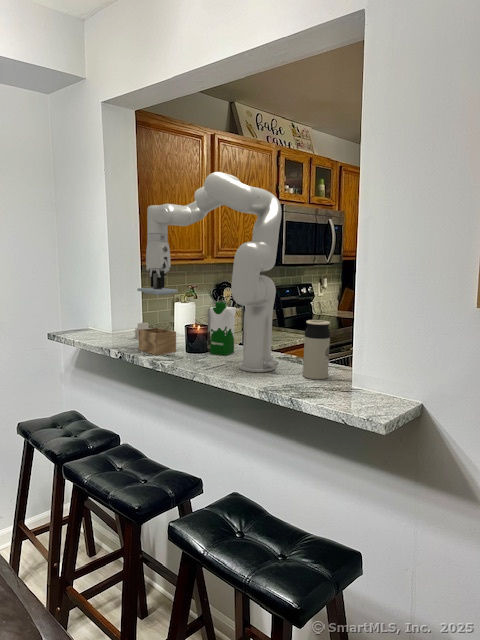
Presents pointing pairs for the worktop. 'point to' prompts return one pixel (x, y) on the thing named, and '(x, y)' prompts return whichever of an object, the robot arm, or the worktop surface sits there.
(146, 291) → the lid
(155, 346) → the box
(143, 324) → the architectural model
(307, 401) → the worktop surface
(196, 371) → the worktop surface
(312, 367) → the travel mug
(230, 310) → the milk carton
